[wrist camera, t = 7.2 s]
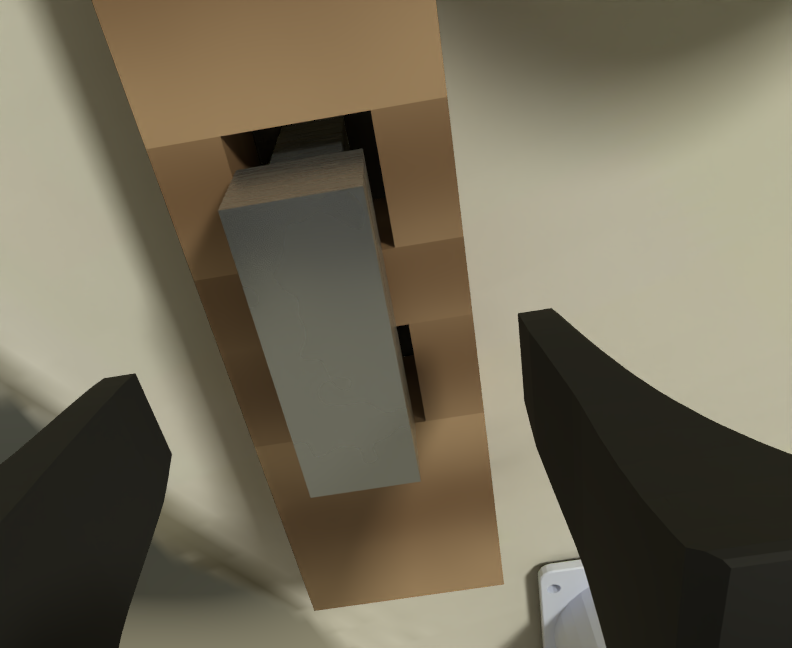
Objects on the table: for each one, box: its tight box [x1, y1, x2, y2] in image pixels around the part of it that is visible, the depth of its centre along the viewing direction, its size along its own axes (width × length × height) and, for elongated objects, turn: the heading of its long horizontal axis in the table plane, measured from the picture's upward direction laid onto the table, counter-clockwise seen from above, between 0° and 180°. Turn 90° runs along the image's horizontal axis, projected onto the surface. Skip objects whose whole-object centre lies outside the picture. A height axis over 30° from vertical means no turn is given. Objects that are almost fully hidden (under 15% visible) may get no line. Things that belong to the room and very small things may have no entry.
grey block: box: [218, 116, 421, 498], centre depth 16 cm, size 7×2×6 cm, turn 9°
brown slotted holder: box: [92, 0, 504, 611], centre depth 17 cm, size 22×6×3 cm, turn 9°
